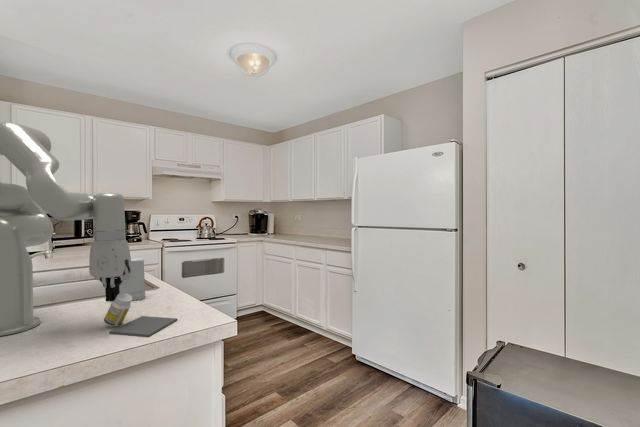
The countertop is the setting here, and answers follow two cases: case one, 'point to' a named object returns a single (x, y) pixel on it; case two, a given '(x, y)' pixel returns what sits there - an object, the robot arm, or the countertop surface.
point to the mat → (143, 326)
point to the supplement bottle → (118, 310)
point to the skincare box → (135, 280)
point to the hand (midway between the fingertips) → (112, 300)
